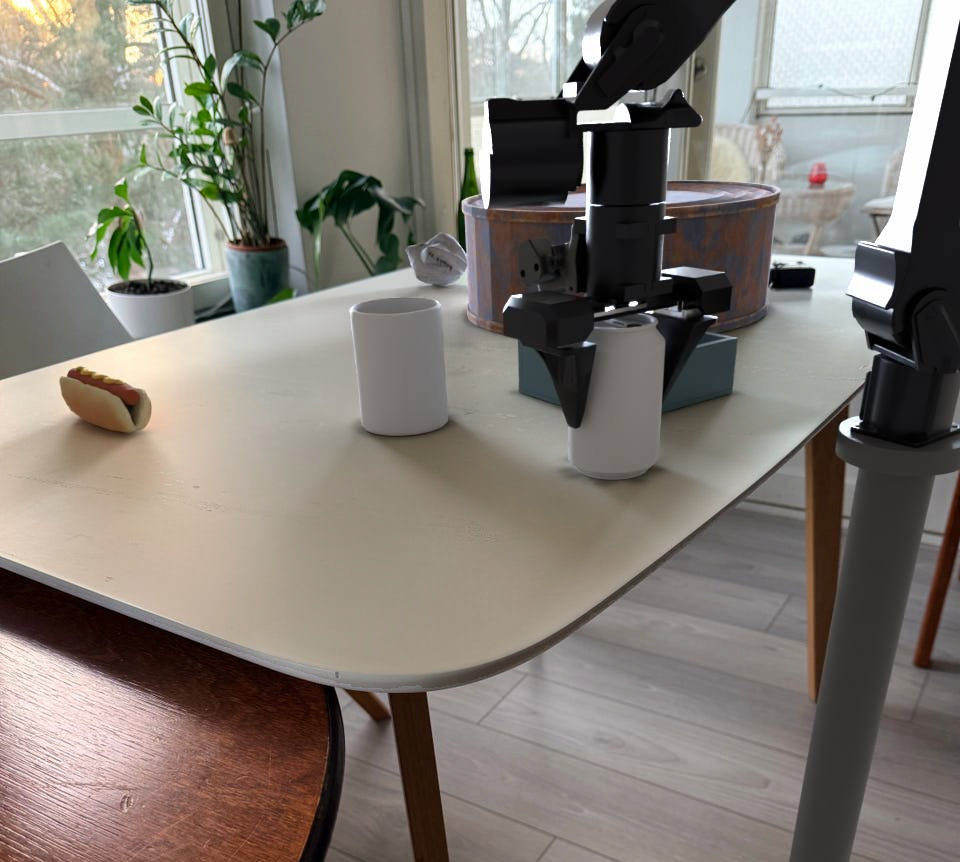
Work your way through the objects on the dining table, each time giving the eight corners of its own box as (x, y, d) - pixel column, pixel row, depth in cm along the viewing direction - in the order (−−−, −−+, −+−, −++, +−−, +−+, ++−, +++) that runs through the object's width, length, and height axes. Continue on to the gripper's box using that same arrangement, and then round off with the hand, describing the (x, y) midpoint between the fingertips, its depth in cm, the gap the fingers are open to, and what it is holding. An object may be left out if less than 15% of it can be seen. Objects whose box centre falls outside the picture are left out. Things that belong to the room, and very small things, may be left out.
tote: (732, 393, 93) (738, 337, 90) (619, 425, 85) (621, 366, 83) (626, 365, 104) (628, 315, 101) (518, 392, 96) (517, 338, 94)
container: (631, 273, 157) (634, 176, 150) (835, 307, 126) (852, 187, 118) (414, 308, 138) (405, 200, 131) (589, 359, 107) (592, 220, 99)
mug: (431, 438, 84) (422, 315, 79) (347, 433, 87) (333, 313, 81) (471, 402, 94) (465, 290, 88) (394, 398, 96) (385, 289, 91)
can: (635, 489, 71) (643, 331, 65) (551, 475, 75) (550, 324, 69) (671, 459, 77) (681, 311, 71) (591, 447, 80) (594, 305, 74)
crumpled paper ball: (399, 289, 154) (395, 238, 150) (413, 280, 161) (410, 231, 157) (463, 288, 152) (461, 236, 147) (474, 279, 159) (472, 229, 155)
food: (56, 416, 96) (43, 368, 93) (106, 404, 99) (94, 358, 97) (115, 443, 87) (102, 391, 85) (168, 428, 91) (156, 378, 88)
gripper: (641, 187, 76) (632, 375, 84) (455, 207, 67) (465, 416, 75) (746, 194, 68) (725, 401, 76) (552, 218, 59) (550, 451, 67)
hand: (616, 415), depth 73 cm, fingers open, 9 cm apart
